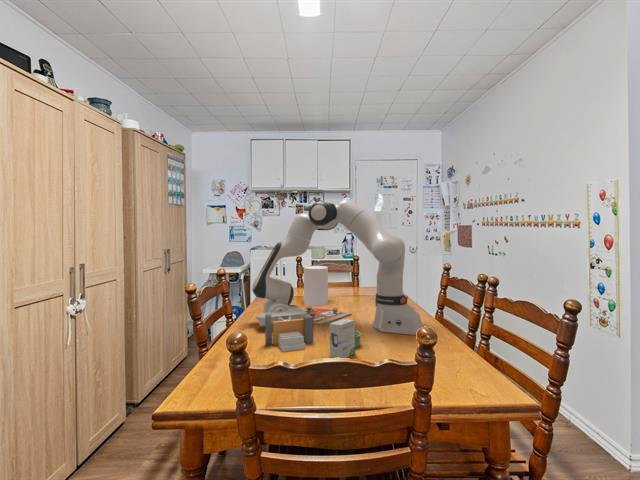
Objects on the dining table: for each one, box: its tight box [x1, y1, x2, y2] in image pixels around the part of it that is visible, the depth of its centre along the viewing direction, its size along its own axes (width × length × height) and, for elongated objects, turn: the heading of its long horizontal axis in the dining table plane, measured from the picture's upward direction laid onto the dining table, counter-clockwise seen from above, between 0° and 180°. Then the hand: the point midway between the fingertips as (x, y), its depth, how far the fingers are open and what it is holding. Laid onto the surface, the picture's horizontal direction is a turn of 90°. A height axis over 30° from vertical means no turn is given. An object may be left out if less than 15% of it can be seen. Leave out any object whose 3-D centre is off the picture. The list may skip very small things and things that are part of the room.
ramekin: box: [355, 330, 362, 349], centre depth 138 cm, size 9×9×4 cm
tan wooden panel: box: [272, 319, 304, 345], centre depth 138 cm, size 14×2×8 cm, turn 110°
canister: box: [303, 265, 329, 307], centre depth 209 cm, size 14×14×20 cm
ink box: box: [328, 318, 356, 359], centre depth 127 cm, size 9×5×12 cm, turn 141°
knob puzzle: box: [300, 305, 353, 326], centre depth 181 cm, size 29×30×4 cm
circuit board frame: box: [264, 314, 314, 353], centre depth 138 cm, size 20×20×12 cm
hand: (287, 322), depth 149 cm, fingers closed
